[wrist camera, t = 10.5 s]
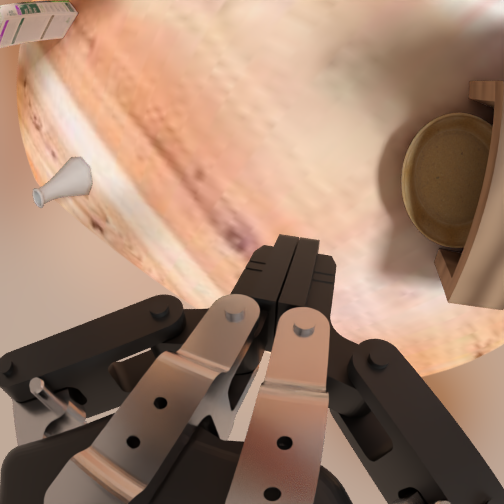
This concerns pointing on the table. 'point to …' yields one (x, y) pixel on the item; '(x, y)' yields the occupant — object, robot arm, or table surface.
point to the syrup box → (35, 21)
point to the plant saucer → (446, 176)
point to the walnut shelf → (482, 223)
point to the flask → (66, 182)
